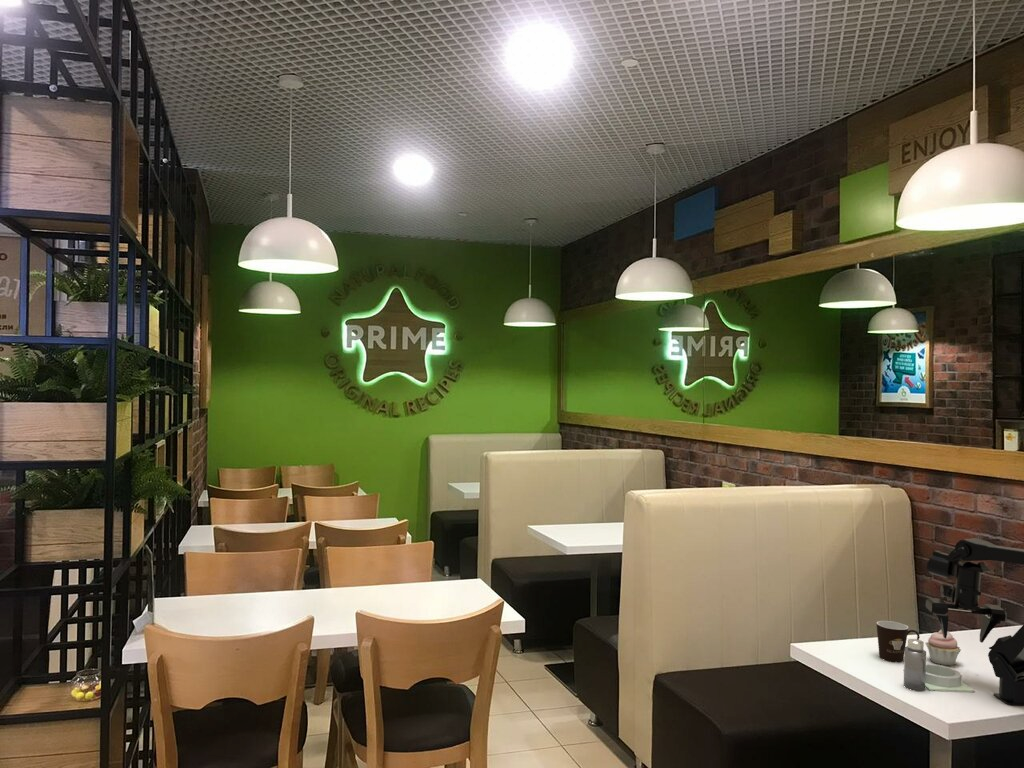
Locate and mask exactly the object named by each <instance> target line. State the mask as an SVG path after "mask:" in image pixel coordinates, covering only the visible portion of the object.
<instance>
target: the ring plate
mask: <svg viewBox="0 0 1024 768" xmlns="http://www.w3.org/2000/svg"><path fill="white" fill-rule="evenodd" d="M903 671H904V669H903ZM925 687H926V688H927V689H926V688H925V689H926V690H928V691H929V690H935V691H934V692H952V691H953V693H954V692H955V691H957V692H955V693H975V689H973V688H972V687H970V686H969V685H967V684H965V683H964V682H963V681H962V674H961V672H959V671H958V670H956V669H954V668H952V667H950V666H947V665H940V664H937V663H935V664H934V663H927V662H926V683H925Z"/></svg>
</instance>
